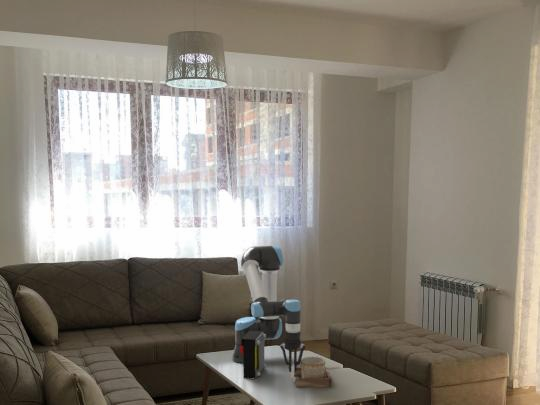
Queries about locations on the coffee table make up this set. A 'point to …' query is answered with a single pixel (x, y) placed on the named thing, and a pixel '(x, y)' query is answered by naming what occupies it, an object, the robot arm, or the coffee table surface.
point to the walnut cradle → (312, 380)
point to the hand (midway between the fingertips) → (292, 378)
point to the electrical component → (253, 353)
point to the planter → (313, 367)
